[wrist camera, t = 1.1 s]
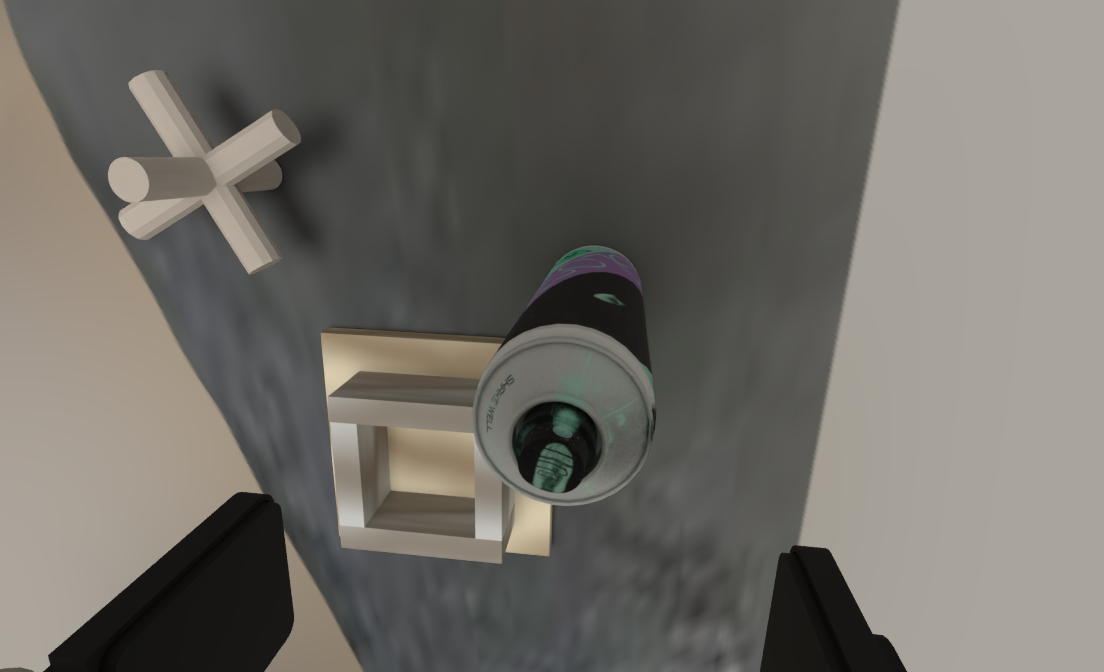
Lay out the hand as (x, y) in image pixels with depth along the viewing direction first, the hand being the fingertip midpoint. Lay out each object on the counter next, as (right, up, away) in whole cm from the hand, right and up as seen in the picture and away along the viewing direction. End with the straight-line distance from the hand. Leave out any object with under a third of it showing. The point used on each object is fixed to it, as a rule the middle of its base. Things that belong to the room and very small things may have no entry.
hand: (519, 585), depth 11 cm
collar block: (-6, -2, +27) cm, 28 cm away
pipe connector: (-16, +14, +23) cm, 31 cm away
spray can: (+3, +7, +23) cm, 24 cm away
